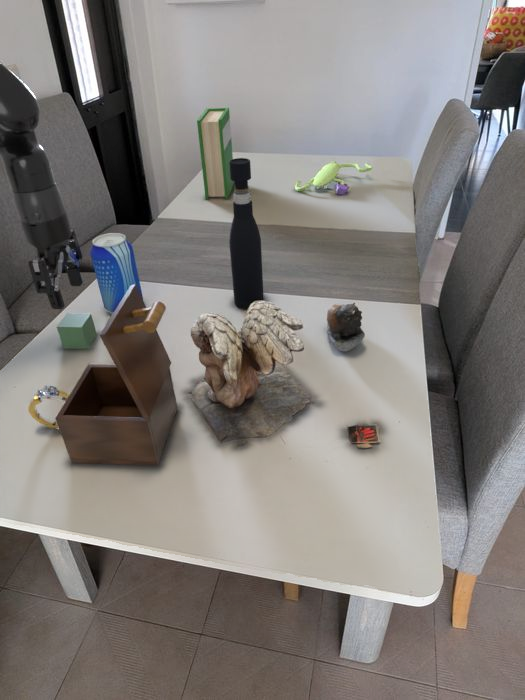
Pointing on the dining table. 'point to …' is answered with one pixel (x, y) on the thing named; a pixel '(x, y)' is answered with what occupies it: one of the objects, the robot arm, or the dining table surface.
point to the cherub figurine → (248, 372)
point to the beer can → (114, 268)
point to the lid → (138, 348)
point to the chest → (114, 420)
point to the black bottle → (244, 240)
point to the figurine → (331, 177)
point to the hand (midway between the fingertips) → (68, 296)
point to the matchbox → (363, 434)
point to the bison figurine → (344, 326)
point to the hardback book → (216, 151)
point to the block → (77, 331)
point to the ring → (44, 394)
